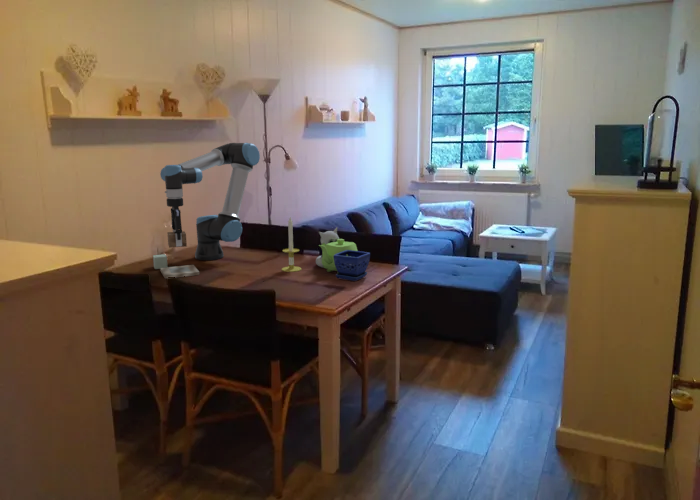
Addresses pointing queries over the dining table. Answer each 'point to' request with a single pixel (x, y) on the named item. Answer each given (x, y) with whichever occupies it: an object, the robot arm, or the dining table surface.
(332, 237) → the decorative figurine
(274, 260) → the dining table surface
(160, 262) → the sage cube
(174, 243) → the walnut block
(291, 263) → the candle
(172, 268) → the build board
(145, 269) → the dining table surface
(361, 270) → the flower pot
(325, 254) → the teapot
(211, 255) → the robot arm
